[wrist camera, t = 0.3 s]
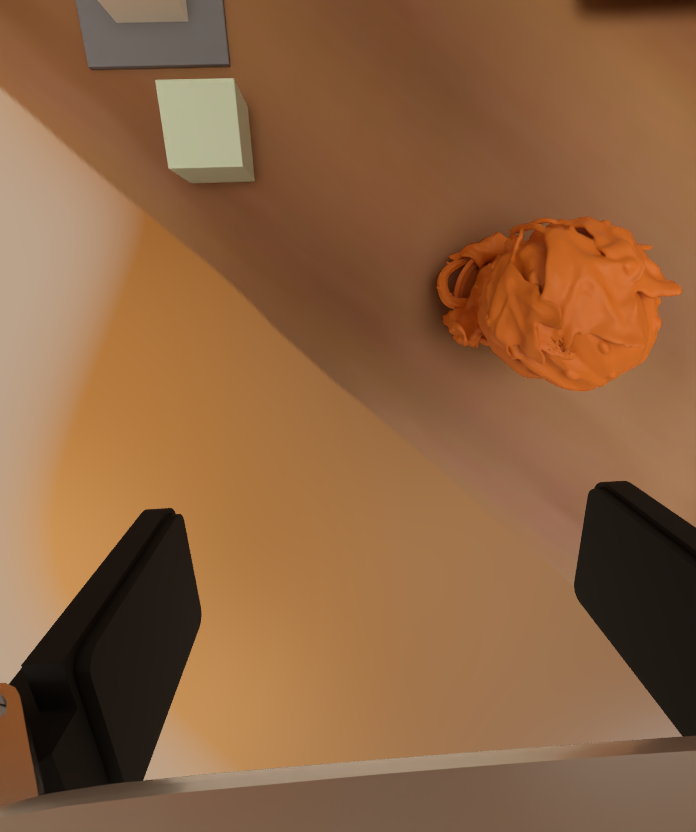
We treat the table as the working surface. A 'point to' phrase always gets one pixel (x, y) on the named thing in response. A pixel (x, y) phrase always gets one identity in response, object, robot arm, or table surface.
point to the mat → (155, 38)
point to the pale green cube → (206, 130)
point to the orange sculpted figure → (558, 300)
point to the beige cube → (146, 10)
